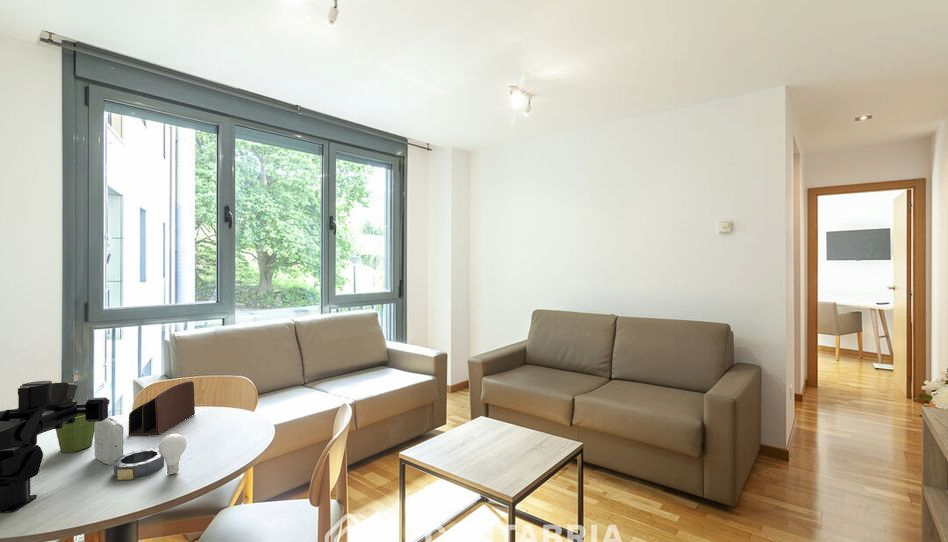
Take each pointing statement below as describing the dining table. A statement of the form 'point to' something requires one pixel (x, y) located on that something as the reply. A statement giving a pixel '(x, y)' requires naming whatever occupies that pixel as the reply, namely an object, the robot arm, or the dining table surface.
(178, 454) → the lightbulb
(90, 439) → the plant pot
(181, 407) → the letter holder
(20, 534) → the dining table surface
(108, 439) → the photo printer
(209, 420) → the dining table surface
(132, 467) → the roll of grey tape
